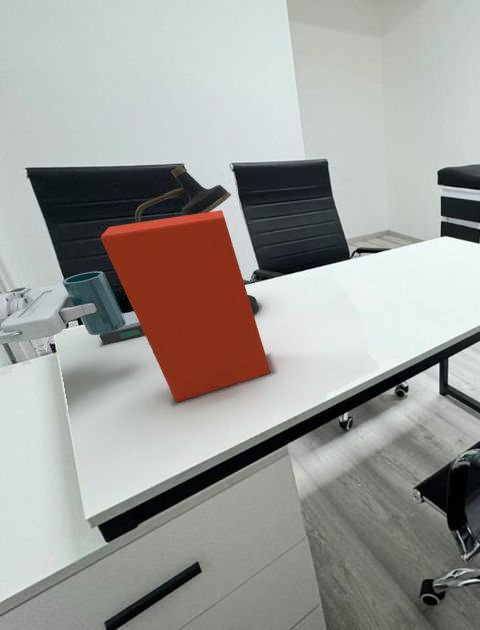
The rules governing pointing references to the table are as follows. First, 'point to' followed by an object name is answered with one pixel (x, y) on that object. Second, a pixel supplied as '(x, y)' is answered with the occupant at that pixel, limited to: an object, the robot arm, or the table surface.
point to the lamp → (195, 202)
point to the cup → (97, 291)
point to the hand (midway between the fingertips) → (100, 299)
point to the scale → (124, 330)
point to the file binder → (189, 300)
